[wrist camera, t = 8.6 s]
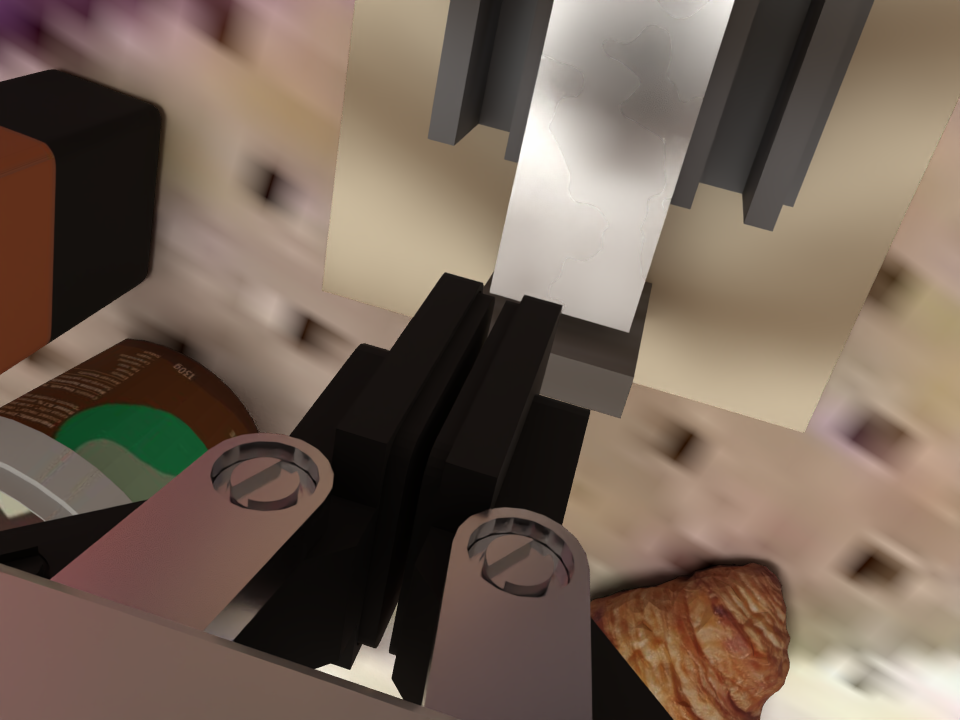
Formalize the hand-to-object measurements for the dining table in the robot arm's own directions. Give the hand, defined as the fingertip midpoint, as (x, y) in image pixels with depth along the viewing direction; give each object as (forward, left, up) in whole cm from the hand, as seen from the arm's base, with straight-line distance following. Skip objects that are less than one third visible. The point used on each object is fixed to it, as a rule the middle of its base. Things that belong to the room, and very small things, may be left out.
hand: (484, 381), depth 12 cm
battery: (+6, -17, -16) cm, 24 cm away
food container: (+16, -12, -16) cm, 26 cm away
